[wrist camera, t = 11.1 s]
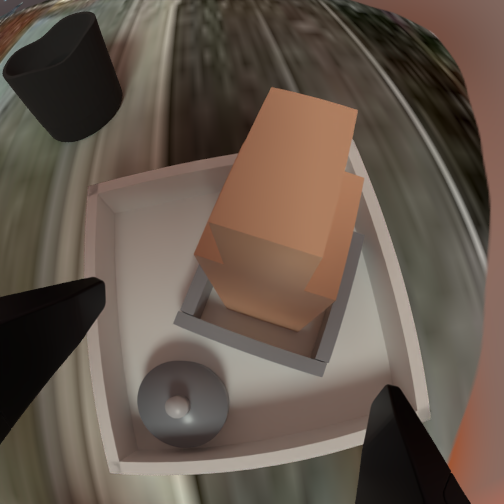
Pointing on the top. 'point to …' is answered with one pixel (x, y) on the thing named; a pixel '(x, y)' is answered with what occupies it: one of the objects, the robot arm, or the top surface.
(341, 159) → the post
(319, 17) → the top surface
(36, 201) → the top surface
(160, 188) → the tray
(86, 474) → the top surface
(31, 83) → the pen holder
